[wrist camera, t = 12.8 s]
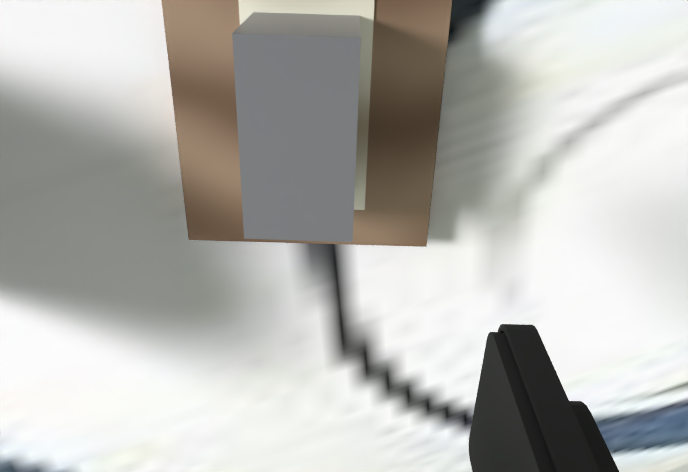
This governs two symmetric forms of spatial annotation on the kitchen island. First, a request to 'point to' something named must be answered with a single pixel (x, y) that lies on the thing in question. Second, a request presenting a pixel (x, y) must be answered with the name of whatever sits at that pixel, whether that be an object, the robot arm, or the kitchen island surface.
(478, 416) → the robot arm
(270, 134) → the block
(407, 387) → the kitchen island surface
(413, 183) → the pin board
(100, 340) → the kitchen island surface
